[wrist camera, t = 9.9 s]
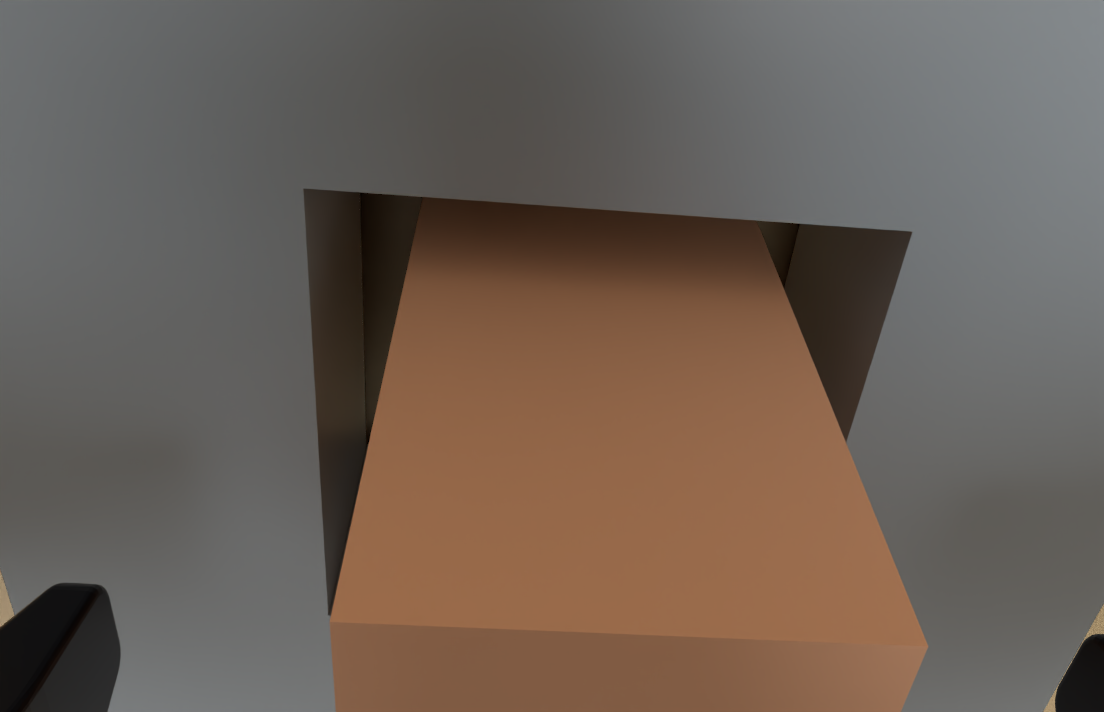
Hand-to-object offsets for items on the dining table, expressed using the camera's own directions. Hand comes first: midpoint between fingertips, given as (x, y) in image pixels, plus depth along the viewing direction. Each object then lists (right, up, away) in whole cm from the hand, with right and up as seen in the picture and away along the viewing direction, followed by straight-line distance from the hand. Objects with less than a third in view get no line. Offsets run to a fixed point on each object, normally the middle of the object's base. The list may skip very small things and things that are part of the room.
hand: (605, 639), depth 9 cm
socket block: (0, +3, +5) cm, 6 cm away
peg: (0, +4, +5) cm, 6 cm away
